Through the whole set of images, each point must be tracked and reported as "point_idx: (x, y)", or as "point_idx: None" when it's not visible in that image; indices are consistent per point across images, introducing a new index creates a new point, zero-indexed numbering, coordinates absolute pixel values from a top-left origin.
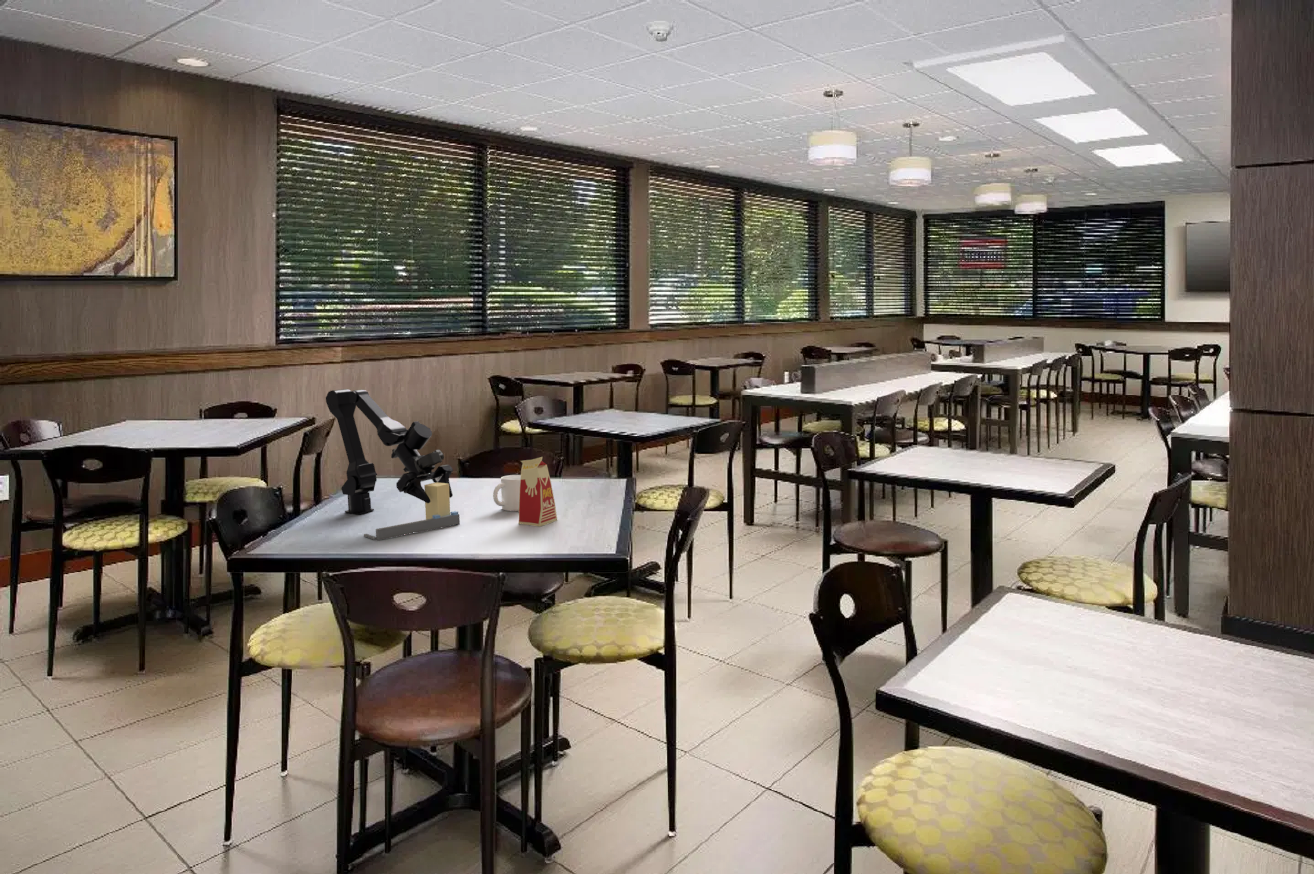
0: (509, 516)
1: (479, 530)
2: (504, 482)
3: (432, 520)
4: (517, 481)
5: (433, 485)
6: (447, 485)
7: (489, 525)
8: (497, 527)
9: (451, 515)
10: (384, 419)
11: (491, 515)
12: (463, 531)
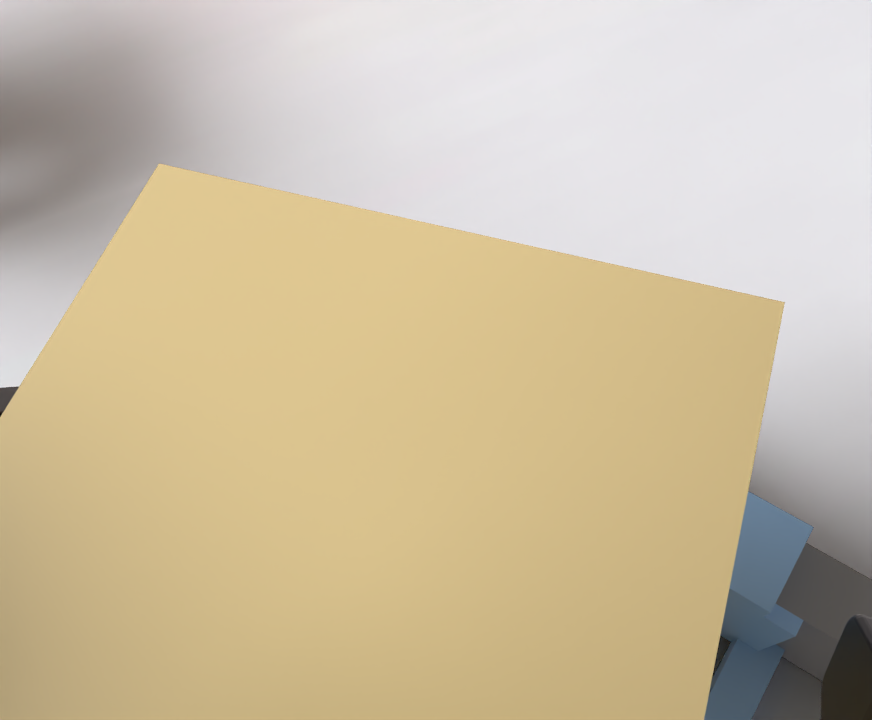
0: (71, 95)
1: (654, 100)
2: None
3: (848, 576)
4: None
5: (601, 562)
6: (248, 208)
7: (437, 103)
8: (500, 21)
9: None
10: None
11: (11, 249)
12: (746, 212)
